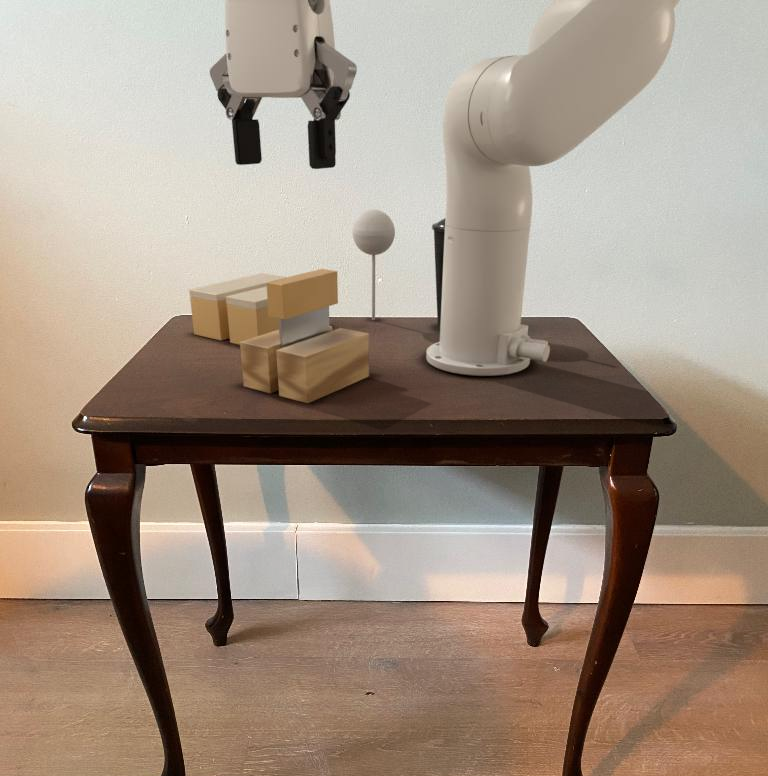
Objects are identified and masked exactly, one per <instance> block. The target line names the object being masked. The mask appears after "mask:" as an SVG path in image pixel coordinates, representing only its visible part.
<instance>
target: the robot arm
mask: <svg viewBox="0 0 768 776" xmlns="http://www.w3.org/2000/svg"><path fill="white" fill-rule="evenodd" d="M330 1H331V0H225V1H224V28H225V29H224V31H225V35H224V36H225V52H226V53H225V54H224V55H223V56H221V58H219V59H218V61H217V62H216V63H215V64H213V65H212V66H211V67H210V69H209V77H210V78H211V81H212V83H213V86H214V89H215V90H216V92H217V95H216V96H217V100H218V101H219V102H220V104H221V105H222V106H223V108H224V109H225V116H226V118H227V119H228V120H230V121H231V126H232V127H231V128H232V138H233V151H234V161H235V164H236V165H237V166H239V165H240V166H245V165H257V164H261V162H262V160H263V158H262V143H261V132H260V131H261V130H260V122H259V119H256V118H255V119H253V118H254V116H255V114H256V112H257V110H258V107H259V105H260V104H261V101H262V99H263V98H272V99H273V98H274V99H279V98H280V99H286V98H287V99H288V98H289V99H290V98H292V99H293V98H297V99H298V98H299V99H300V98H301V100H302V102H303V103H304V106H305V107H306V108H307V109H308V111H309V113H310V115H311V116H312V118H313V120H308V121H307V136H308V137H307V141H308V142H307V143H308V144H307V145H308V164H309V167H310V168H311V169H312V170H320V169H321V170H322V169H331V168H332V169H333V168H335V166H336V165H337V163H336V154H337V146H336V145H337V144H336V121H339V120H340V119H341V117H342V110H343V109H344V107H345V106H346V104H347V102H348V101H349V99H350V98H351V97H350V96H351V93H350V90H351V89H352V87H353V84H354V80H355V79H356V78H355V77H356V75H357V71H358V67H357V64H356V63H355V62H353V60H351V59H349V58H348V57H346V56H345V55H343V54H342V53H341V52H339V51H338V50H337V49H336V44H335V34H334V23H333V15H332V7H331V2H330ZM680 1H681V0H553V1H552V2H551V3H550V4H549V5H548V6H547V7H546V8H545V9H544V11H543V12H542V13H541V15H540V16H539V17H538V18H537V20H536V21H535V23H534V25H533V27H532V30H531V33H530V36H529V38H528V43H527V54H519V55H506V56H504V55H503V56H497V57H496V56H495V57H489V58H485V59H482V60H480V61H477V62H475V63H473V64H471V65H469V66H468V67H467V68H465V69H464V70H463V71H461V72H460V74H458V76H457V77H456V78H455V80H454V81H453V82H452V84H451V86H450V88H449V90H448V92H447V95H446V97H445V100H444V104H443V110H442V121H441V122H442V125H441V126H442V141H443V142H442V143H443V151H444V159H445V161H444V162H445V176H446V177H445V181H446V182H445V183H446V184H445V186H446V189H445V190H446V191H445V192H446V193H445V217H444V218H445V236H444V258H443V280H442V302H441V324H440V329H439V341H438V342H435V343H433V344H430V346H428V347H427V349H426V353H425V356H426V357H425V358H426V361H427V363H428V364H430V365H431V366H433V367H434V368H436V369H437V370H441V371H444V372H446V373H447V372H448V373H450V374H451V373H452V374H458V375H463V376H472V377H473V376H474V377H475V376H476V377H495V376H497V377H498V376H505V375H511V374H515V373H518V372H522V371H523V370H525V369H526V368H528V367H529V365H530V363H531V360H532V361H537V362H541V363H546V362H547V361H548V359H549V356H550V352H551V348H550V347H551V346H550V345H549V342H548V341H547V340H543V339H534V338H531V337H530V335H528V334H529V333H528V332H529V325H527V324H522V313H523V302H524V292H525V285H526V284H525V283H526V272H527V265H528V264H527V262H528V253H529V242H530V232H531V225H532V217H533V216H532V215H533V214H532V213H533V184H532V176H531V169H530V167H540V166H545V165H548V164H552V163H554V162H556V161H557V160H559V159H561V158H563V157H564V156H566V155H568V154H569V153H570V152H572V151H573V150H574V149H575V148H577V147H578V146H579V145H581V143H583V142H584V141H585V140H586V139H588V138H589V137H590V136H591V135H592V134H594V133H595V132H596V131H597V130H598V129H600V128H601V127H602V126H603V125H604V124H605V123H606V122H608V121H609V120H610V119H611V118H612V117H613V116H615V115H616V114H617V113H618V112H619V111H620V110H622V109H623V108H624V107H625V106H626V105H627V104H628V103H630V101H632V100H633V99H634V98H635V97H636V96H638V94H640V93H641V92H642V91H643V90H644V89H645V88H646V87H648V85H649V84H650V83H651V82H652V81H653V79H654V78H655V77H656V76H657V74H658V73H659V71H660V69H661V68H662V66H663V64H664V62H665V61H666V59H667V56H668V54H669V52H670V50H671V47H672V43H673V39H674V35H675V26H676V16H675V7H676V6H677V5H678V4H679V2H680Z"/></svg>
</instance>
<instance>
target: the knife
mask: <svg viewBox="0 0 768 776" xmlns="http://www.w3.org/2000/svg"><path fill="white" fill-rule="evenodd" d="M285 277H286V278H282V279H278V280H274V281H269V282H267V283H266V284H267V298H268V313H269V317H274V318H278V319H279V335H280V349H281V348H284V347H287V346H290V345H293V344H296V343H299V342H302V341H304V340H307V339H310V338H313V337H316V336H319V335H322V334H325V333H328V332H330V326H331V325H330V307H331V306H334V305H338V304H339V290H338V271H337V270H333V269H326V268H320V269H315V270H311V271H307V272H303V273H299V274H295V275H291V276H285Z"/></svg>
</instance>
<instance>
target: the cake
mask: <svg viewBox="0 0 768 776" xmlns="http://www.w3.org/2000/svg"><path fill="white" fill-rule="evenodd" d="M286 277H287V276H283V275H276V274H272V273H271V274H269V273H263V272H260V273H256V274H251V275H247V276H243V277H239V278H234V279H230V280H229V279H228V280H225V281H220V282H216V283H212V284H208V285H203V286H198V287H194V288H190V289H188V293H189V301H190V309H191V320H192V326H193V334H194V335H196V336H200V337H204V338H209V339H213V340H217V341H220V342H221V341H225V340H228V339H229V342H230V344H234V345H238V346H240V342H241V341H245V340H248V339H251V338H254V337H257V336H260V335H264V334H267V333H270V332H273V331H276V330H279V319H278V318H274V317H269V313H268V298H267V284H266V283H267V282H269V281H274V280H278V279H282V278H286Z"/></svg>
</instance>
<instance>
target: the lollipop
mask: <svg viewBox="0 0 768 776" xmlns="http://www.w3.org/2000/svg"><path fill="white" fill-rule="evenodd" d="M395 229H396V228H395V224H394V222H393V220H392V218H390V216H389V215H388V214H387V213H386V212H384V211H382V210H379V209H369V210H365V211H363V212H362V213H361V214H359V215H358V216H357V217H356V219H355V221H354V223H353V226H352V231H351V232H352V238H353V241H354V244H355V246H356V247H357V249H359V250H360V251H361V252H363V253H364V254H366V255H369V256H371V321H376V256H378V255H381V254H384V253H385V252H387V251H388V250H389V249H390V247H391V246H392V244H393V243H394V240H395V235H396V230H395Z"/></svg>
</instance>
